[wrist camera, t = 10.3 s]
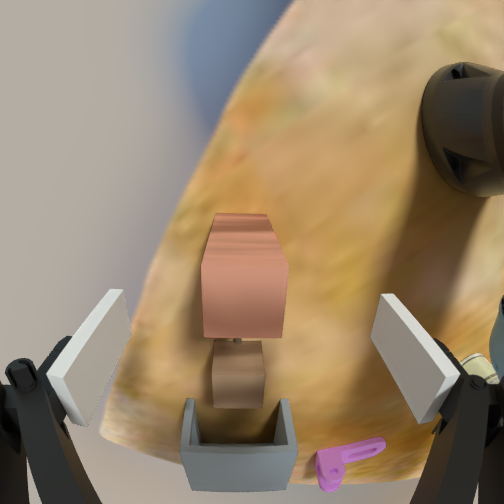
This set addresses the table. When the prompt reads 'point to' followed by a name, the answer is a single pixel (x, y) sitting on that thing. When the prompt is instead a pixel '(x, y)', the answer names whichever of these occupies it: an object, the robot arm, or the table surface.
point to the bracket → (343, 460)
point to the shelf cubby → (238, 457)
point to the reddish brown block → (242, 303)
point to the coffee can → (480, 369)
